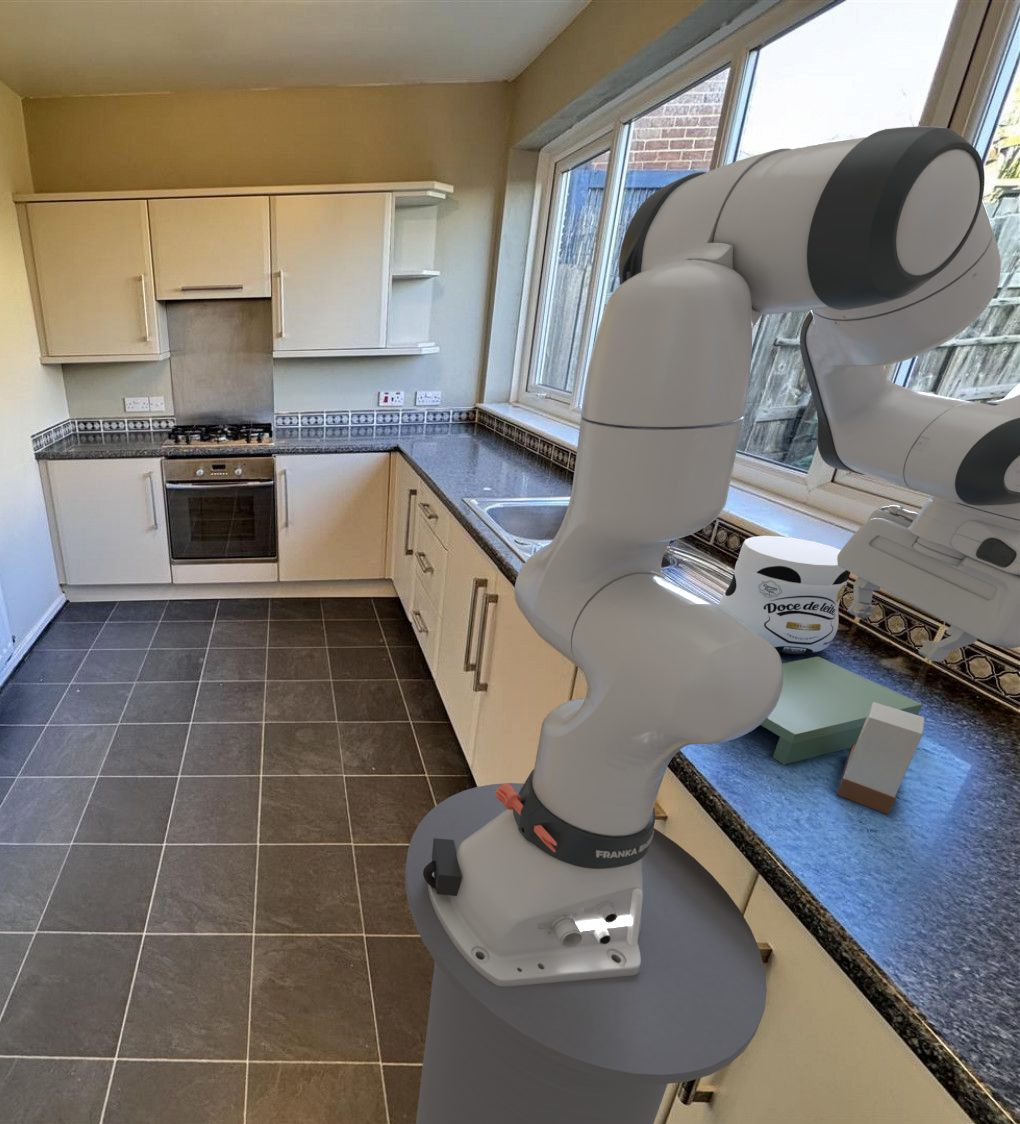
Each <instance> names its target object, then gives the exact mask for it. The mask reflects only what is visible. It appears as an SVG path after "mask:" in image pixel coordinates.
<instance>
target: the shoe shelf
mask: <svg viewBox="0 0 1020 1124" xmlns="http://www.w3.org/2000/svg"><path fill="white" fill-rule="evenodd" d="M782 666H783V687H782V692H781V695H780V698H779V700H778V703H777V705H776V707H775V708H774V710H773V711H772V713H771V714H770V715H769V716H768V718H767V719H766V720H765V721H764V722H763V723H762V724H760V725H759V726H761V727H763V728H765V729H767V730H768V731H769V732H772V733H773V734H775V735H777V736H778V737H779V738H778V741H777V744H776V746H775V750H774V752H773V755H772V758H773V759H774V760H776V761H777V762H779V763H781V765H784V766H785V765H788V764H792V763H796V762H800V761H804V760H809V759H812V758H816V757H817V758H818V757H821V756H825V755H828V754H832V753H837V752H840V751H845V750H850V749H851V747H852V744H853V743H854V744H856V743H857V740H858V738H859V735H860V733H861V731H862V728H863V726H864V723H865V721H866V718H867V716H868V713H869V711H870V708H871V706H872V703H873V702H875V703H879V704H882V705H885V706H888V707H892V708H895V709H898V710H902V711H905V712H908V713H912V714H915V715H918V716H919V714H920V711H921V709H922V706H923V703H921V702H919V701H916V700H914V699H912V698H910V697H908V696H906V695H904V694H901V693H899V692H898V691H895V690H894V689H890V688H889V687H886V686H884V685H881V684H879V683H877V682H876V681H873V680H871V679H869V678H866V677H864V676H862V675H860V674H857V673H855V672H853V671H851V670H848V669H847V668H844V667H842V666H840V665H837V664H836V663H833V662H831V661H829V660H826V659H825V658H823V657H821V656H814V657H808V658H803V659H798V660H792V661H788V662H782Z"/></svg>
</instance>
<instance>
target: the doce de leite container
mask: <svg viewBox="0 0 1020 1124" xmlns="http://www.w3.org/2000/svg"><path fill="white" fill-rule="evenodd" d="M841 550H842V549H840V548H836V547H835V546H832V545H828V544H826V543H825V544H824V543H821V542H817V541H813V540H809V539H808V540H807V539H802V538H797V537H789V536H781V535H780V536H779V535H759V536H751V537H748V538H746V539H745V540H744V541H743V543H742V546H741V548H740V551H739V554H738V558H737V560H736V562H735V565H734V571H733V575H732V579H731V581H730V584H729V585H728V587H727V588H726V590H725V592H724V593H723V594H722V596H721V598H720V600H719V602H718V605H719V606H721V607H723V608H725V609H727V610H728V611H730V612H731V613H732V614H734V615H735V616H736V617H738V618H739V619H740V620H741V621H743V622H744V623H745V624H747V625H748V626H749V627H750V628H752V629H753V630H754V631H755V632H757V633H758V634H759V635H760V636H761V637H763V638H764V639H765V640H766V641H767V642H769V643H770V644H771V645H772V646H773V647H774V648H775V649H776V650H777V652H778V653H779V654H783V655H797V656H798V655H800V656H803V655H804V656H805V655H811V654H816V653H820V652H822V651H823V650H825V649H827V648H828V647H829V646H830V644H831V643H832V642H833V640H834V638H835V637H836V635H837V633H838V629H839V618H840V617H839V607H840V602H841V600H842V597H843V594H844V592H845V590H846V587H847V585H848V580H849V578H850V575H851V574H852V573H851V572H849V571H847V570H845V569H843V568H841V567H840V566H838V561H837V556H838V554H839V552H840V551H841Z"/></svg>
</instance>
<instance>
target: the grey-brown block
mask: <svg viewBox="0 0 1020 1124" xmlns="http://www.w3.org/2000/svg"><path fill="white" fill-rule="evenodd" d="M925 721H926V720H925V717H924V716H921V715H919V714H918V715H915V714H912V713H908V712H905V711H902V710H898V709H895V708H892V707H888V706H885V705H882V704H879V703H875V702H873V703H872V706H871V708H870V711H869V713H868V716H867V718H866V721H865V723H864V726H863V728H862V731H861V733H860V735H859V738H858V740H857V743H856V744H854V743H853V744H852V747H851V748H849V751H848V753H847V757H846V760H845V762H844V763H845V764H844V767H843V769H842V774H841V776H840V777H841V778H840V781H839V784H838V789H837V792H836V795H837V796H839V797H842V798H844V799H847V800H849V801H852V802H854V803H857V804H860V805H862V806H864V807H868V808H870V809H873V810H875V811H878V812H880V813H882V814H885V815H889V814H890V812H891V810H892V808H893V806H894V804H895V801H896V799H897V792H898V790H899V788H900V786H901V784H902V782H903V780H904V778H905V775H906V773H907V770H908V769H909V767H910V764H911V761H912V760H913V758H914V755H915V753H916V750H917V748H918V746H919V744H920V742H921V739H922V737H923V736H924V729H925Z"/></svg>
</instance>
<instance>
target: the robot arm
mask: <svg viewBox="0 0 1020 1124" xmlns="http://www.w3.org/2000/svg"><path fill="white" fill-rule="evenodd" d="M984 192H985V167H984V163H983V160H982V157H981V155H980V153H979V152H978V150H977V149H976V148H975V147H974V145H972V144H971V142H969V141H968V140H967V139H966V138H964V136H962V135H961V134H959V133H958V132H956V130H954V129H950V128H948V127H941V126H927V125H926V126H922V125H921V126H919V125H918V126H903V127H892V128H891V127H890V128H885V129H881V130H878V131H876V132H874V133H871V134H870V135H868V136H865V137H856V138H847V139H840V140H833V141H826V142H821V143H815V144H811V145H805V146H800V147H795V148H790V147H789V148H779V149H775V150H771V151H767V152H763V153H759V154H756V155H752V156H748V157H746V158H742V159H740V160H737V161H733V162H730V163H728V164H725V165H723V166H719V167H717V168H714V169H711V170H709V171H700V172H693V173H691V174H688V175H685V176H683V177H681V178H678V179H676V180H674V181H673V182H671V183H668V184H667V185H665V186H663V187H661V188H660V189H657V191H655V192H654V193H652V194H650V195H649V196H648V197H647V198H646V199H645V200H644V201H643V202H642V203H641V205H639V207H638V209H636V211H635V213H634V215H633V216H632V218H631V220H630V222H629V224H628V227H627V228H626V231H625V233H624V236H623V240H622V243H621V247H620V251H619V257H618V258H619V259H618V278H619V286H618V287H617V288H615V290H614V291H613V292H612V294H611V295H610V297H609V299H608V300H607V302H606V305H605V307H604V309H603V312H602V316H601V319H600V322H599V325H598V328H597V330H596V331H597V332H596V335H595V338H594V343H593V347H592V350H591V354H590V359H589V364H588V368H587V372H586V378H585V382H584V383H585V384H584V390H583V395H582V402H581V411H580V421H579V429H578V430H579V431H578V439H577V446H576V447H577V448H576V454H575V455H576V456H575V464H574V465H575V466H574V472H573V480H572V486H571V492H570V497H569V500H568V501H569V502H568V505H567V509H566V512H565V514H564V517H563V520H562V522H561V524H560V527H559V529H558V530H557V533H556V534H555V536H554V537H553V539H552V541H551V542H550V543H549V544H547V545H545V546H543V547H541V548H540V549H538V550H537V551H535V552H534V553H533V554H532V555H530V556H529V558H528V559H527V560H526V561H525V562H524V564H523V565H522V566H521V569H520V570H519V572H518V573H517V576H516V580H515V583H514V601H515V604H516V606H517V608H518V610H519V611H520V612H521V614H522V615H523V617H524V619H525V620H526V621H527V623H528V624H529V625H530V627H531V628H532V629H533V630H534V631H535V633H536V634H537V636H539V638H540V639H542V640H543V641H544V642H545V643H546V644H547V645H549V646H550V647H552V649H554V650H555V651H557V652H558V653H559V654H560V655H562V657H564V658H565V659H566V660H568V661H569V662H571V663H572V664H573V665H574V666H575V667H577V668H578V669H579V670H580V671H581V672H582V673H583V676H584V678H585V682H586V686H587V687H586V695H585V697H581V698H580V697H579V698H573V699H570V700H568V701H565V702H563V703H561V704H559V705H557V706H555V708H553V709H552V710H551V711H548V713H547V714H546V716H545V717H544V719H543V720H542V723H541V728H540V733H539V739H538V744H537V750H536V755H535V761H534V768H533V769H532V770H531V771H530V773H529V775H528V777H526V780H525V781H524V785H523V787H522V788H521V790H520V792H519V794H517V793H516V792H515V790H514V789H513V787H512V786H511V785H510V784H504V783H502V784H503V785H501V786H500V787H499V788H498V789H497V790H496V791H497V792H496V793H495V794H496V797H497V798H498V799H499V800H500V801H501V802H502V803H503V804H504V806H505V808H506V809H507V810H505V811H504V812H502V813H501V814H499V815H498V816H497V817H495V818H494V819H493V820H491V821H490V822H488V823H487V824H486V825H484V826H483V827H482V828H480V829H479V830H478V831H476V832H475V833H473V834H472V835H471V836H469V837H468V838H466V839H465V840H464V841H463V842H462V843H461V844H460V845H459V847H458V849H457V851H456V847H455V841H454V840H449V839H437V838H434V839H433V849H432V861H431V862H430V863H429V864H428V865H426V867H425V868H424V871H423V876H424V878H425V880H426V882H427V883H428V892H429V896H430V900H431V903H432V906H433V908H434V910H435V913H436V915H437V917H438V919H439V921H440V923H441V924H442V926H443V928H444V930H445V931H446V933H447V935H448V936H449V938H450V939H451V941H452V943H453V944H454V945H455V947H456V948H457V949H458V951H459V952H460V953H461V955H462V956H463V957H464V958H465V959H466V961H467V962H468V963H469V964H470V965H471V966H472V967H473V968H474V969H475V970H476V971H477V972H479V973H480V974H481V975H482V976H483V977H485V978H486V979H487V980H489V981H490V982H492V983H493V984H495V985H497V986H501V987H508V986H520V985H531V984H543V983H554V982H565V981H576V980H587V979H598V978H610V977H621V976H632V975H636V974H638V973H639V972H640V967H641V955H640V950H639V946H638V937H639V935H640V932H641V927H642V916H641V909H642V899H643V871H642V859H643V857H644V855H645V854H646V853H647V851H648V849H649V845H650V842H651V841H652V838H653V835H654V831H653V829H654V828H655V823H656V812H655V805H656V801H657V799H658V795H659V791H660V789H661V785H662V783H663V779H664V778H665V777H664V776H665V774H666V770H667V768H668V766H669V764H670V762H671V761H672V759H673V758H674V757H675V755H676V754H677V753H679V752H680V751H681V750H682V749H683V748H685V747H687V746H691V745H714V744H720V743H721V744H722V743H726V742H730V741H732V740H737V739H739V738H741V737H743V736H745V735H747V734H749V733H751V732H752V731H755V730H756V729H757V728H758V727H759V726H761V725H760V724H762V723H763V722H764V721H765V720H766V719H767V718H768V716H769V715H770V714H771V713H772V711H773V710H774V708H775V707H776V705H777V703H778V700H779V698H780V695H781V692H782V687H783V666H782V664H783V661H782V658H781V655H780V653H778V652H777V650H776V649H775V648H774V647H773V646H772V645H771V644H770V643H769V642H767V641H766V640H765V639H764V638H763V637H761V636H760V635H759V634H758V633H757V632H755V631H754V630H753V629H752V628H750V627H749V626H748V625H747V624H745V623H744V622H743V621H741V620H740V619H739V618H738V617H736V616H735V615H734V614H732V613H731V612H730V611H728V610H727V609H725V608H723V607H721V606H719V604H718V603H715V602H713V601H711V600H709V599H707V598H705V597H703V596H701V595H699V594H697V593H695V592H693V591H691V590H689V589H686V588H684V587H682V586H681V585H678V584H676V583H674V582H672V581H671V580H668V579H667V578H665V576H664V574H663V570H662V563H663V558H664V555H665V553H666V551H667V549H668V546H669V545H670V543H671V541H674V540H678V539H682V538H685V537H687V536H690V535H691V536H692V535H693V534H695V533H697V532H699V531H701V530H702V529H704V528H706V527H707V526H709V525H710V524H712V523H713V522H714V521H715V520H716V519H717V518H718V517H719V516H721V514H722V512H723V510H724V508H725V507H726V505H727V501H728V495H729V492H730V491H729V490H730V485H731V481H732V476H733V472H734V466H735V461H736V457H737V451H738V446H739V443H740V442H739V441H740V436H741V431H742V426H743V421H744V415H745V411H746V406H747V399H748V395H749V394H748V393H749V387H750V379H751V378H750V377H751V371H752V370H751V368H752V353H753V329H754V327H755V326H756V324H757V323H758V321H759V319H760V318H761V316H763V315H764V316H765V315H778V314H788V313H789V314H791V313H799V312H800V313H801V312H808V314H807V315H806V317H805V319H804V320H803V323H802V324H801V328H800V333H799V348H800V353H801V354H800V355H801V359H802V363H803V367H804V371H805V374H806V378H807V381H808V385H809V389H810V392H811V396H812V399H813V403H814V406H815V411H816V415H817V425H816V426H817V427H816V445H817V449H818V452H819V455H820V457H821V459H822V461H824V463H825V464H826V465H828V466H829V467H831V468H833V469H837V470H841V471H845V472H850V473H854V474H857V475H861V476H868V477H871V478H874V479H877V480H880V481H883V482H887V483H890V484H892V485H896V486H899V487H902V488H905V489H908V490H912V491H913V492H914V491H915V492H919V493H921V494H925V495H929V497H928V498H927V500H926V501H925V503H924V505H923V506H922V507H921V508H920V510H919V512H915V511H912V510H909V509H905V507H902V506H901V505H897V504H891V505H889V506H888V505H886V506H882V507H879V508H877V509H875V510H873V511H872V513H871V514H870V515H869V517H868V518H867V520H866V522H865V523H864V524H862V525H861V526H860V527H859V528H858V529H857V530H856V532H854V534H852V536H851V537H850V538H849V539H848V541H847V542H846V543H845V544H844V546H843V547H842V548H841V549H840V550H841V551H840V552H839V554H838V556H837V561H838V566H840V567H841V568H843V569H845V570H847V571H849V572H851V573H850V574H853V575H855V576H857V578H856V579H855V581H854V583H853V588H852V589H853V594H852V595H853V597H852V598H853V600H852V602H851V603H850V605H849V606H848V607H847V612H848V613H850V614H852V615H853V616H855V617H857V618H859V619H861V618H862V619H864V620H866V619H869V618H870V617H872V613H874V612H875V610H876V609H877V606H875V605H873V604H872V601H873V595H874V591H875V592H876V591H877V592H879V590H880V589H881V590H883V591H886V592H888V593H889V594H892V595H893V596H896V597H897V598H899V599H901V600H903V601H905V602H907V603H909V604H910V605H913V606H914V607H916V608H918V609H920V610H922V611H924V612H926V613H928V614H929V615H932V616H934V617H935V618H937V619H940V620H941V621H944V622H945V623H947V624H949V625H950V626H949V627H948V629H946V631H945V633H946V634H947V635H949V636H947V637H945V638H942V639H940V640H939V641H932V640H926V639H925V641H924V643H923V644H922V647H920V648H919V649H918V651H917V652H918V654H920V655H921V656H922V657H924V658H926V659H927V660H930V661H932V662H937V663H941V662H944V661H945V660H946V659H947V658H948V656H949V655H950V654H951V653H952V652H953V651H955V650H959V649H961V648H964V647H966V646H969V645H972V644H974V643H976V642H977V640H980V641H982V642H984V643H986V644H988V645H991V646H996V647H1002V648H1006V649H1007V648H1009V649H1016V648H1020V382H1019V383H1018V384H1017V385H1015V386H1014V388H1012V389H1011V390H1010V391H1009V392H1008V393H1007V394H1006V395H1005V396H1004V398H1001V399H997V400H990V401H986V402H985V403H983V402H979V401H970V400H965V399H961V398H955V397H950V396H945V395H940V394H934V393H930V392H924V391H920V390H916V389H912V388H908V387H905V386H902V385H900V384H897V383H895V382H892V381H890V380H889V379H888V378H886V374H885V369H884V366H889V365H892V364H893V365H894V364H897V363H900V362H901V363H902V362H905V361H907V360H911V359H913V358H916V357H919V356H921V355H923V354H926V353H929V352H930V351H932V350H935V349H936V348H938V347H940V346H942V345H944V344H946V343H947V342H949V341H951V340H952V339H953V338H955V337H957V336H958V335H960V334H961V333H962V332H963V331H965V330H966V329H968V327H969V326H970V325H972V324H973V323H974V322H975V321H976V320H977V319H978V318H979V317H980V315H981V314H982V313H983V312H984V311H985V310H986V308H987V307H988V306H989V305H990V303H991V302H992V300H993V298H994V297H995V295H996V292H997V290H998V287H999V283H1000V279H1001V270H1002V269H1001V268H1002V267H1001V264H1002V263H1001V254H1000V250H999V246H998V243H997V239H996V236H995V233H994V230H993V227H992V223H991V219H990V216H989V213H988V211H987V208H986V205H985V203H984V200H983V198H984ZM477 956H479V957H481V958H482V959H483V960H480V959H478V958H477ZM612 959H613V960H616V961H617V962H618V963H616V962H614V961H613V960H612Z"/></svg>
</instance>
